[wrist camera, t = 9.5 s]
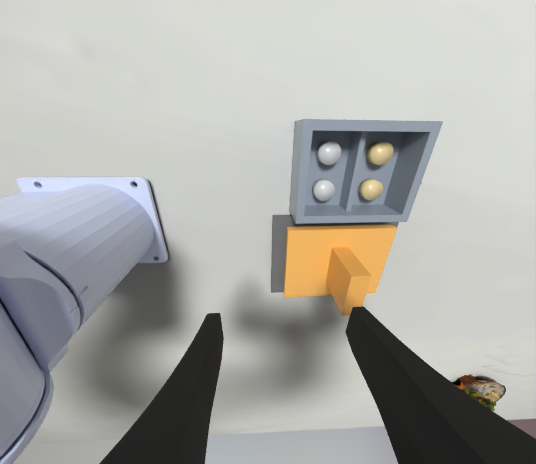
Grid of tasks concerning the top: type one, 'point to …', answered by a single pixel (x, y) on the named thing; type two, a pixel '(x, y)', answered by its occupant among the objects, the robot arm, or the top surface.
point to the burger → (482, 390)
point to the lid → (336, 262)
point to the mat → (280, 244)
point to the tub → (358, 169)
